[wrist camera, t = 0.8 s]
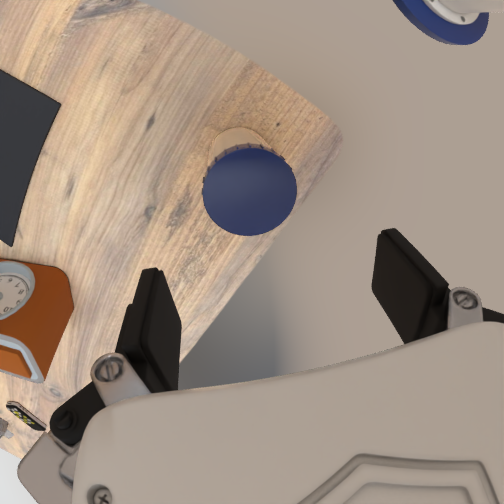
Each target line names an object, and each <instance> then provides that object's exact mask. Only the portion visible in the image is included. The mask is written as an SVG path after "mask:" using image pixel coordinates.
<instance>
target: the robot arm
mask: <svg viewBox="0 0 504 504" xmlns="http://www.w3.org/2000/svg"><path fill="white" fill-rule="evenodd" d="M423 2H424V3H425V4H426V5H427V6H428V7H429V8H430V9H431V10H432V11H433V12H434V13H435V14H437V15H438V16H439V17H441V18H442V19H444V20H446V21H448V22H450V23H453V24H458V25H466V24H470V23H472V22H474V21H475V20H476V19H477V17H478V15H479V13H482V12H504V0H423ZM448 285H449V284H448V283H447V282H446V280H445V279H444V278H443V277H442V276H441V275H440V274H439V273H438V272H437V270H436V269H435V268H434V267H433V266H432V265H431V264H430V263H429V262H428V261H427V260H426V259H425V258H424V257H423V256H422V254H420V252H419V251H418V250H417V249H416V248H415V247H414V246H413V245H412V244H411V243H410V242H409V241H408V240H407V239H406V238H405V237H404V236H403V235H402V234H401V233H400V232H399V231H398V230H397V229H395V228H392V229H386V230H382V231H381V234H379V235H378V238H377V247H376V256H375V264H374V271H373V279H372V291H373V293H374V295H375V297H376V298H377V300H378V301H379V303H380V304H381V306H382V308H383V309H384V311H385V312H386V314H387V316H388V317H389V319H390V320H391V322H392V324H393V325H394V327H395V329H396V330H397V332H398V334H399V335H400V337H401V339H402V341H403V342H404V345H401V346H398V347H395V348H391V349H388V350H385V351H381V352H378V353H374V354H371V355H367V356H364V357H360V358H356V359H352V360H348V361H345V362H341V363H337V364H333V365H328V366H324V367H320V368H315V369H311V370H306V371H301V372H297V373H292V374H287V375H281V376H276V377H271V378H266V379H259V380H253V381H247V382H240V383H234V384H227V385H220V386H211V387H203V388H195V389H186V390H178V373H179V357H180V343H181V329H182V325H181V320H180V317H179V314H178V312H177V309H176V306H175V304H174V301H173V298H172V295H171V293H170V290H169V287H168V284H167V281H166V278H165V276H164V273H163V271H162V270H160V271H159V270H158V269H157V268H156V267H155V268H149V269H144V270H142V273H141V276H140V279H139V282H138V286H137V289H136V293H135V296H134V299H133V303H132V304H129V305H128V307H127V309H126V313H125V316H124V320H123V323H122V327H121V331H120V334H119V338H118V342H117V346H116V350H115V353H108V354H105V355H103V356H101V357H100V358H99V359H97V360H96V362H95V363H94V364H93V366H92V368H91V374H90V375H91V379H92V382H91V383H89V384H88V385H87V386H85V387H84V388H83V389H82V390H80V391H79V392H78V393H77V394H75V395H74V396H73V397H71V398H70V399H69V400H68V401H66V402H65V403H64V404H63V405H61V406H60V407H59V408H57V409H56V411H55V412H54V413H53V415H52V416H51V419H50V429H51V430H50V431H49V432H48V433H46V432H44V433H43V434H42V435H41V437H40V438H39V439H38V440H37V441H36V443H35V444H34V445H33V446H32V448H31V449H30V450H29V451H28V453H27V454H26V455H25V456H24V458H23V459H22V460H21V461H20V464H19V465H18V470H17V474H18V478H19V480H20V482H21V483H22V484H23V486H24V487H25V488H26V489H27V491H28V492H29V493H30V494H31V495H32V497H33V498H34V499H35V500H36V502H37V503H39V504H504V314H501V313H499V312H496V311H493V310H490V309H486V308H483V307H482V303H481V299H480V297H479V296H478V294H476V293H475V292H474V291H472V290H471V289H468V288H465V287H456V288H454V289H452V290H450V289H449V288H448Z"/></svg>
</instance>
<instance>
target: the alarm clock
mask: <svg viewBox="0 0 504 504" xmlns="http://www.w3.org/2000/svg"><path fill="white" fill-rule="evenodd" d="M73 309H74V306H73V301H72V296H71V291H70V286H69V281H68V278H67V277H66V275H65V274H64V273H63V272H62V271H61V270H60V269H58V268H56V267H51V266H44V265H37V264H30V263H24V262H18V261H11V260H5V259H0V372H3V373H6V374H9V375H12V376H15V377H18V378H21V379H24V380H28V381H31V382H34V383H43V382H44V381H45V379H46V376H47V373H48V370H49V368H50V365H51V362H52V360H53V357H54V355H55V352H56V350H57V347H58V345H59V342H60V340H61V337H62V335H63V333H64V330H65V328H66V326H67V323H68V321H69V319H70V317H71V314H72V312H73Z"/></svg>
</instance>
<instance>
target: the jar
mask: <svg viewBox="0 0 504 504" xmlns="http://www.w3.org/2000/svg"><path fill="white" fill-rule="evenodd" d="M248 142H249V143H251V144H259V145H260V144H262V145H263V146H266V147H268V148H270V149H271V147H270V146H269V145H268V144H267V143H266V141H265V140H264V139H263V138H262V137H261V136H260V135H259V134H258V133H256V132H255V131H253V130H251V129H248V128H243V127H235V128H230V129H227V130H225V131H223V132H222V133H220V134H219V135H218V136H217V137H216V138H215V139H214V140H213V142H212V144H211V146H210V148H209V153H208V162H207V167H208V166H209V165H210V164H211V162H212V161H213V160H214V157H215V156H216V157H217V156H218V155H219V154H220V153H221V152H223V151H224V149H228V148H230V147H233V146H235V144H237V145H239V144H247V143H248Z"/></svg>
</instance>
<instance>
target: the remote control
mask: <svg viewBox="0 0 504 504" xmlns="http://www.w3.org/2000/svg"><path fill="white" fill-rule="evenodd" d="M6 407H7V409H8V410H10V411H11V412H12V413H13V414H14V415H16V416H17V417H18V418H19V419H21V420H22V421H23V422H24V423H26V424H27V425H28V426H30V427H31V428H33V429H34V430H39V431H45V430H46V425H45V424H44V423H42V422H41V421H40V420H38V419H37V418H36V417H35V416H33V415H32V414H31V413H30V412H28V411H27V410H26V409H25V408H23V407H22V406H21V405H20V404H18V403H16V402H7V404H6Z"/></svg>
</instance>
